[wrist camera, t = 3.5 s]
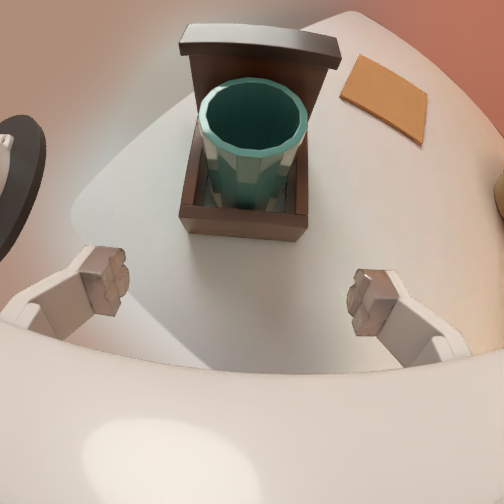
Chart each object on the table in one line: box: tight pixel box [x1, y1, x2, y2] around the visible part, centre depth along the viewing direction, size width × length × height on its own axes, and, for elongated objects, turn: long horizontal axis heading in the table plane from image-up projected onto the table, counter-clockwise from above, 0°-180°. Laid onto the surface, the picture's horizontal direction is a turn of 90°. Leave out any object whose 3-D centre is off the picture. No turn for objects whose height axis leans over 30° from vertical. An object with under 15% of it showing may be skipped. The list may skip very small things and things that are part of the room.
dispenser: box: [179, 23, 342, 242], centre depth 19 cm, size 12×10×13 cm
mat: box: [340, 54, 427, 145], centre depth 29 cm, size 12×12×1 cm
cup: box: [198, 77, 308, 212], centre depth 20 cm, size 6×6×11 cm
